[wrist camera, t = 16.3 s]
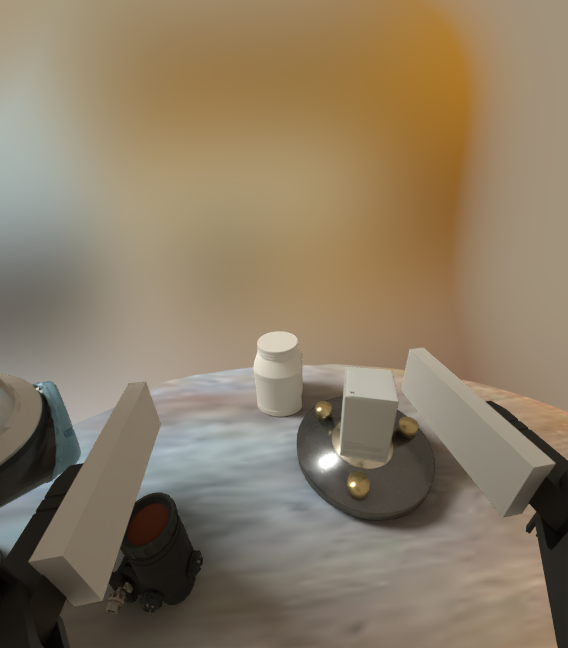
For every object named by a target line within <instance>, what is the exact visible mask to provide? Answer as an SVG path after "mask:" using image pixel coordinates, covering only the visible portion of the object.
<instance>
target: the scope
mask: <svg viewBox="0 0 568 648" xmlns="http://www.w3.org/2000/svg"><path fill="white" fill-rule="evenodd" d="M120 550H121V551H122V552H123V554H124V555H125V557H124V559H123V561H122V563H121V565H120V567H119V569H118V570H117V571H116V572H115V573H114V572H113V571H112V574H111V577H110V580H109V584H110V585H111V587H112V588H113V589H114V591H115V592H114V593H112V594H111V595H110V597H109V599H108V601H109V602H108V604H107V606H106V608H105V610H106V612H109V613H111V614H117V613H119V611H120V609H121V606H122V605H123V604H124V603H125V602H132V603H134V602H135V601H136V599H137V597H136V596H135V595H136V593H137V592H138V593H141V594H142V598H141V599H140V604H141V605H142V609H143V610H144V611H146V612H149V610H150V609H151V610H152V611H151V612H154V611H155V610H156V609H159V608H160V607H161V606H162V602H163V601H164V602H165V603H167V604H169V605H175V604H178V603H180V602H181V601H183V600H184V599H185V598H186V597H187V596H188V595H189V593H190V592H191V590H192V588H193V585H194V581H195V576H196V575H197V573H198V572H199V571H200V570H201V568H200V566H201V565H202V563H203V558H202V556H201V552H200V551H197V550H195V551H194V550H193V547H192V545H191V542H190V540H189V538H188V535H187V533H186V530H185V528H184V525H183V523H182V521H181V519H180V517H179V516H178V511H177V508H176V505H175V502H174V500H173V499H172V498H170V496H169V495H167V494H163V493H152V494H149V495H146V496H144V497H142V498H141V499H139V500H138V501H136V502H135V504H134V507H133V510H132V513H131V516H130V519H129V522H128V525H127V528H126V531H125V534H124V537H123V540H122V543H121V546H120ZM128 560H129V562H128Z"/></svg>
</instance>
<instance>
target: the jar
mask: <svg viewBox="0 0 568 648" xmlns="http://www.w3.org/2000/svg"><path fill="white" fill-rule="evenodd" d="M257 346H258V353H257V355H256V359H255V362H254V369H253V370H254V375H255V383H256V392H257V400H258V402H257V403H258V407H259V409H260V410H261V411H263V412H264V413H266V414H268V415H271V416H276V417H284V416H289V415H292V414H295V413H296V412H298V411H299V410H301V409H302V400H301V394H302V392H303V379H302V351H300V350H299V349H298V340H297V338H296V337H295V336H294V335H293V334H291V333H288V332H271V333H267V334H265V335H263V336H262V337H260V338H259V340H258V342H257Z"/></svg>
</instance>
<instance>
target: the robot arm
mask: <svg viewBox="0 0 568 648" xmlns="http://www.w3.org/2000/svg"><path fill="white" fill-rule="evenodd" d="M401 391H402V392H403V393H404V395H405V396H406V397H407V398H408V400H409V401H410V402H411V403H412V405H413V406H414V407H415V408H416V410H417V411H418V412H419V413H420V415H421V416H422V417H423V418H424V420H425V421H426V422H427V423H428V425H429V426H430V427H431V428H432V430H433V431H434V432H435V433H436V435H437V436H438V437H439V438H440V440H441V441H442V442H443V443H444V445H445V446H446V447H447V448H448V450H449V451H450V452H451V454H452V455H453V456H454V457H455V459H456V460H457V461H458V462H459V464H460V465H461V466H462V467H463V469H464V470H465V471H466V472H467V474H468V475H469V476H470V477H471V479H472V480H473V481H474V482H475V484H476V485H477V486H478V487H479V489H480V490H481V491H482V492H483V494H484V495H485V496H486V497H487V499H488V500H489V501H490V502H491V504H492V505H493V506H494V507H495V509H496V510H497V511H498V512H499V514H500V515H501V516H502V518H503V517H508V516H513V515H518V514H522V513H523V511H524V510H525V508H526V507H527V505H528V504H530V505H531V506H532V507H533V508H534V509H535V510H536V513H535V515H534V516H533V517H532V519H531V520H530V522H529V523H528V524H527V526H526V532H528V533H531V531H532V530H533V529H534V527H535V526H536V531H537V534H536V536H537V537H538V542H539V548H540V553H541V559H542V564H543V570H544V575H545V580H546V586H547V591H548V597H549V602H550V608H551V613H552V619H553V624H554V630H555V635H556V641H557V646H558V648H568V460H566V459H565V458H564V457H563V456H562V455H560V454H559V453H558V452H557V451H556V450H554V449H553V448H552V447H551V446H550V445H548V444H547V443H546V442H545V441H544V440H542V439H541V438H540V437H539V436H538V435H536V434H535V433H534V432H533V431H532V430H529V429H528V427H527V426H526V425H524V424H523V423H522V422H521V421H518V419H517V418H516V417H515V416H514V415H512V414H511V413H510V412H509V411H508V410H506V409H505V408H503V407H501V406H499V405H498V404H496V403H494V402H492V401H486V402H485V401H484V400H483V399H482V398H480V397H479V396H478V395H477V394H476V393H475V392H474V391H472V390H471V389H470V388H469V387H468V386H467V385H466V384H464V383H463V382H462V381H461V380H460V379H459V378H457V377H456V376H455V375H454V374H453V373H452V372H451V371H449V370H448V369H447V368H446V367H445V366H444V365H443V364H441V363H440V362H439V361H438V360H437V359H436V358H434V357H433V356H432V355H431V354H430V353H429V352H428V351H426V350H425V349H424V348H417V349H410V350H409V355H408V359H407V364H406V369H405V374H404V378H403V383H402V388H401ZM160 425H161V423H160V420H159V417H158V414H157V411H156V409H155V406H154V403H153V400H152V397H151V395H150V392H149V389H148V386H147V383H146V382H139V383H130V384H128V385H127V387H126V389H125V391H124V393H123V394H122V396H121V398H120V400H119V401H118V403H117V405H116V407H115V409H114V410H113V412H112V414H111V416H110V418H109V419H108V421H107V423H106V425H105V426H104V428H103V430H102V432H101V434H100V435H99V437H98V439H97V441H96V442H95V444H94V446H93V448H92V450H91V451H90V453H89V455H88V457H87V458H86V460H85V462H84V463H82V464H76V463H77V461H78V460H79V458H80V454H81V451H80V447H79V443H78V440H77V437H76V435H75V432H74V430H73V428H72V424H71V421H70V418H69V415H68V413H67V410H66V407H65V405H64V402H63V400H62V398H61V395H60V393H59V391H58V388H57V386H56V385H55V384H54V383H53V382H51V381H47V382H43V383H35V384H33V385H31V384H30V383H29V382H27V381H26V380H24V379H21V378H19V377H15V376H11V375H4V374H0V508H1V507H3V506H4V505H6V504H8V503H10V502H12V501H13V500H15V499H17V498H19V497H21V496H22V495H24V494H26V493H28V492H29V491H31V490H33V489H35V488H37V487H38V486H40V485H42V484H44V483H48V482H50V481H52V480H53V479H55V478H56V477H57V476H58V475H59V474H61V473H62V472H63V473H62V474H61V475H60V476H59V477H58V478H57V479H56V480H55V481H54V483H53V484H52V486H51V488H50V489H49V491H48V492H47V494H46V496H45V499H44V500H42V502H41V503H40V505H39V507H38V508H37V510H36V514H34V515H33V516H32V518H31V519H30V521H29V523H28V524H27V526H26V527H25V529H24V531H23V532H22V534H21V535H20V537H19V539H18V540H17V542H16V543H15V545H14V547H13V548H12V550H11V551H10V553H9V555H8V556H7V558H6V559H5V561H4V562H3V561H2V556H1V553H0V648H70V646H69V642H68V639H67V635H66V631H65V627H64V624H63V620H62V619H61V617H60V616H59V615H60V612H61V610H62V607H63V605H64V603H65V600H66V599H67V600H68V601H69V602H70V603H71V604H72V605H73V606H74V607H76V606H81V605H85V604H90V603H95V602H100V601H103V598H104V595H105V592H106V589H107V586H108V583H109V580H110V577H111V574H112V571H113V568H114V565H115V561H116V558H117V555H118V552H119V549H120V546H121V543H122V540H123V537H124V534H125V531H126V528H127V525H128V522H129V519H130V516H131V513H132V510H133V507H134V504H135V501H136V498H137V495H138V492H139V489H140V486H141V483H142V480H143V477H144V474H145V471H146V467H147V464H148V461H149V458H150V455H151V452H152V449H153V446H154V443H155V440H156V437H157V434H158V431H159V428H160ZM75 464H76V465H75Z"/></svg>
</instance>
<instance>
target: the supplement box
mask: <svg viewBox="0 0 568 648" xmlns="http://www.w3.org/2000/svg"><path fill="white" fill-rule="evenodd" d="M398 403H399V400H398V395H397V391H396V386H395V382H394V377H393V373H392V371H391V370H381V369H370V368H358V367H347V366H346V368H345V378H344V390H343V403H342V417H341V429H340V455H342V456H347V457H353V458H359V459H364V460H371V461H377V462H383V463H386V462H387V459H388V454H389V449H390V444H391V439H392V434H393V428H394V423H395V418H396V413H397V408H398Z"/></svg>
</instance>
